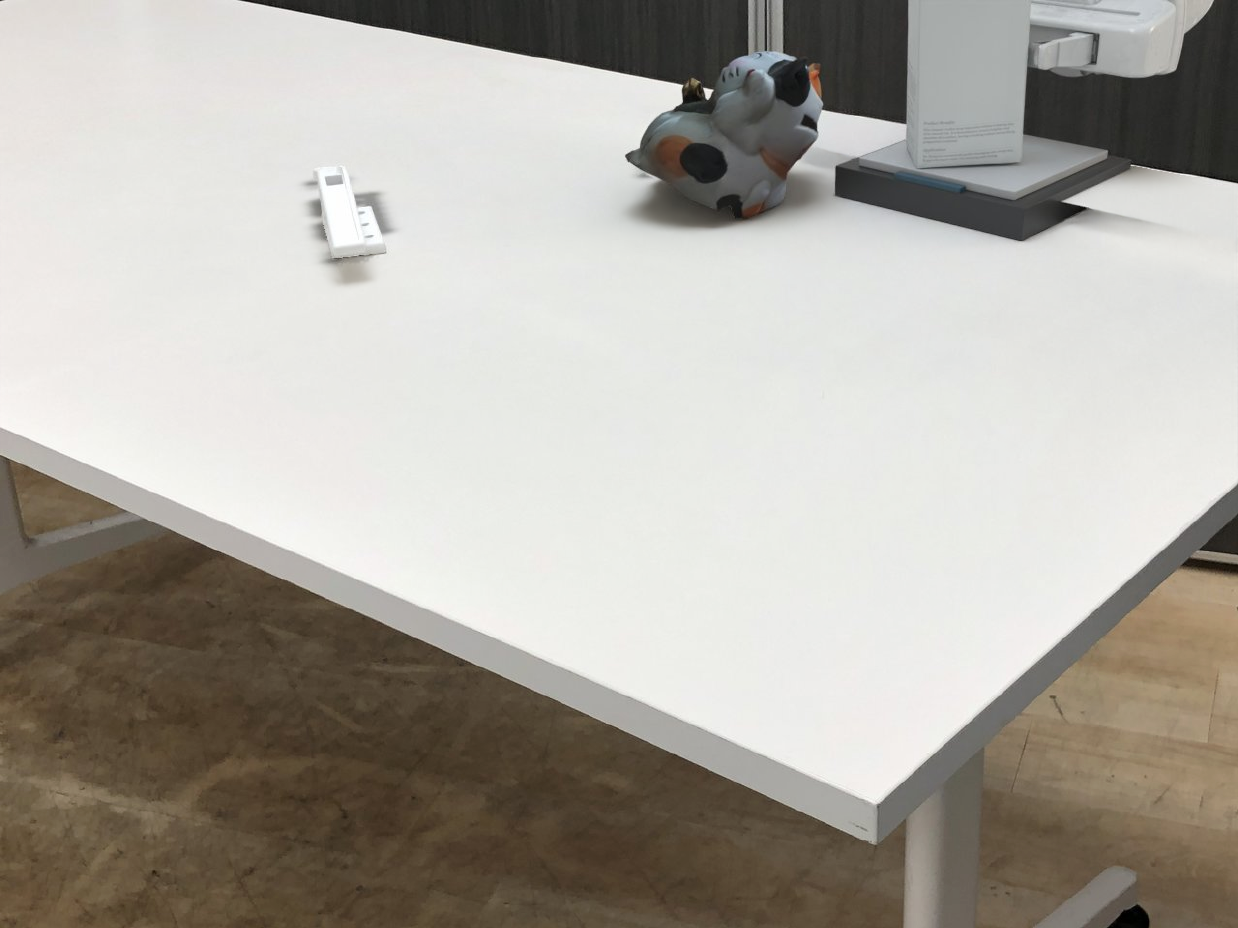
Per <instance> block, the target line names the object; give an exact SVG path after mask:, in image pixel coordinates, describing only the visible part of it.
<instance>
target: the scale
mask: <svg viewBox="0 0 1238 928" xmlns="http://www.w3.org/2000/svg"><path fill="white" fill-rule="evenodd" d="M1108 152H1109V151H1108V150H1107V149H1104V148H1103V149H1102V148H1097V147H1091V146H1087V145H1082V144H1076V143H1071V142H1065V141H1060V140H1056V139H1050V138H1045V137H1040V136H1033V135H1029V134H1024V133H1023V141H1022V157H1021V161H1020V162H1015V163H1003V164H978V165H962V166H946V167H931V168H919V169H917V168H916V167H915V164H914V162H913V160H912V158H911V155H910V153H909V151H908V148H907V146H906V139H903V140H899V141H898V142H895V143H893V144H890V145H887V146H884V147H881V148H879V149H876V150H874V151H871V152H869V153H865V154H863V155H861V156H858V157H855V158H853V159H849V160H847V161H845V162H842V163H840V164H836V165H835V167H834V169H835V170H834V196H837V197H841V198H846V199H848V200H854V201H858V202H862V203H866V204H870V205H873V206H877V207H881V208H887V209H890V210H895V211H899V212H902V213H907V214H911V215H915V216H918V217H923V218H928V219H931V220H936V221H939V222H942V223H943V222H944V223H948V224H952V225H956V226H960V227H964V228H969V229H971V230H976V231H980V232H984V233H989V234H993V235H996V236H1000V237H1005V238H1009V239H1013V240H1017V241H1020V242H1021V241H1024V240H1026V239H1028V238H1030V237H1033V236H1034V235H1037V234H1038V233H1040V232H1042V231H1044V230H1047V229H1048V228H1051V227H1053V226H1055V225H1057V224H1059V223H1062V222H1063V221H1066V220H1068V219H1069V218H1072V217H1074V216H1075V215H1078V214H1080V213H1082V212H1084V211H1086V210H1088V209H1089V207H1088V206H1083V205H1078V204H1074V203H1070V202H1065V200H1067V199H1069V198H1072V197H1073V196H1076V195H1077V194H1080V193H1083V192H1084V191H1087V190H1089V189H1091V188H1093V187H1095V186H1098V185H1100V184H1101V183H1104V182H1106V181H1108V180H1110V179H1112V178H1115V177H1116V176H1118V175H1120V174H1123V173H1125V172H1127V171H1129V170H1131V168H1132V159H1130V158H1125V157H1120V156H1115V155H1109V153H1108Z"/></svg>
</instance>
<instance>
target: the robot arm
mask: <svg viewBox="0 0 1238 928" xmlns="http://www.w3.org/2000/svg"><path fill="white" fill-rule="evenodd" d="M1214 2H1215V0H1031V13H1030V29H1029V45H1028V60H1027V68H1031V69H1034V70H1035V69H1036V70H1041V71H1042V70H1043V71H1047V70H1048V71H1050V72H1052V73H1054V74H1056V75H1059V76H1061V77H1067V78H1079V77H1085V76H1089V75H1091V74H1093V73H1094V74H1095V75H1109V76H1116V77H1122V78H1129V79H1141V78H1142V79H1144V78H1148V77H1153V76H1163V75H1168V74H1171V73H1173V72H1175V71H1176V70H1177V67H1178V64H1179V61H1180V56H1181V51H1182V47H1183V43H1184V36H1185V34H1186V33H1188V32H1189V31H1190V30H1192V28H1193V27H1194V26H1196V25H1197V24H1198V23H1199V22H1200V21H1201V20H1202V19H1203V18H1204V16H1205V15H1206V14H1207V13H1208V11H1209V10H1210V8H1211V7H1212V5H1213V3H1214Z"/></svg>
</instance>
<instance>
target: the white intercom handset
mask: <svg viewBox="0 0 1238 928" xmlns="http://www.w3.org/2000/svg"><path fill="white" fill-rule="evenodd" d="M312 176H313V179H314V180H316V181H317V188H318V193H319V194H318V195H319V199H320V206H321V212H322V213H321V222H322V221H323V222H322V226H323V225H324V226H323V229H325V230H324V233H326V234H325V237H326V236H327V238H326V241H327V240H328V242H327V245H328V244H329V245H328V249H329V248H330V249H329V253H330V252H331V253H330V257H331V256H332V257H333V258H342V259H344V258H343V257H348V256H354V255H364V256H368V255H367V254H372V255H380V254H385V252H386V253H387V245H386V242H385V240H384V237H383V235H382V232H381V231H382V230H381V229H380V226H379V223H378V221H377V218H376V215H375V213H374V209H373V207H372V206H371V205H367V206H357V202H356V198H355V194H354V191H353V190H354V189H353V186H352V181H351V177H350V174H349V170H348V168H347V167H346V166H343V165H339V164H337V165H329V166H322V167H314V168H313V169H312ZM332 257H331V258H332Z"/></svg>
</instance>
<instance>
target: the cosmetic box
mask: <svg viewBox="0 0 1238 928" xmlns="http://www.w3.org/2000/svg"><path fill="white" fill-rule="evenodd" d="M907 1H908V6H907V7H908V8H907V19H908V20H907V21H908V25H907V28H908V29H907V81H906V123H905V124H906V126H905V127H906V128H905V131H906V132H905V140H906V146H907V148H908V151H909V153H910V155H911V158H912V160H913V162H914V164H915V167H916V168H917V169H919V168H931V167H946V166H962V165H978V164H1003V163H1015V162H1020V161H1021V157H1022V141H1023V134H1024V122H1025V121H1024V120H1025V105H1026V90H1027V89H1026V88H1027V74H1028V66H1027V60H1028V45H1029V29H1030V13H1031V0H907Z"/></svg>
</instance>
